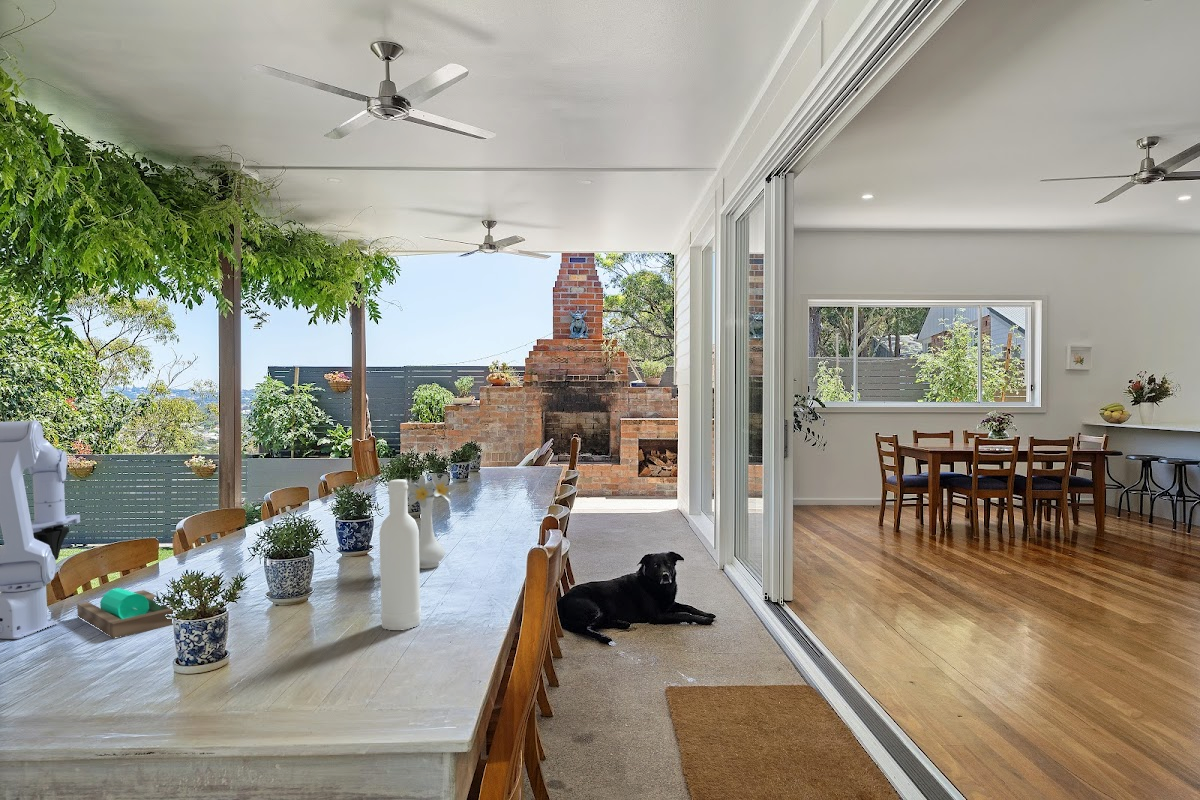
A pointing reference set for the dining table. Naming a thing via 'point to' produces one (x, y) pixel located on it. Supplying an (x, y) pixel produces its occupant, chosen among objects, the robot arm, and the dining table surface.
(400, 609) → the bottle
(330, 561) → the dining table surface
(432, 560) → the flower vase
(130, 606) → the candle
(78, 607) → the u rest
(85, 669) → the dining table surface
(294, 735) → the dining table surface
